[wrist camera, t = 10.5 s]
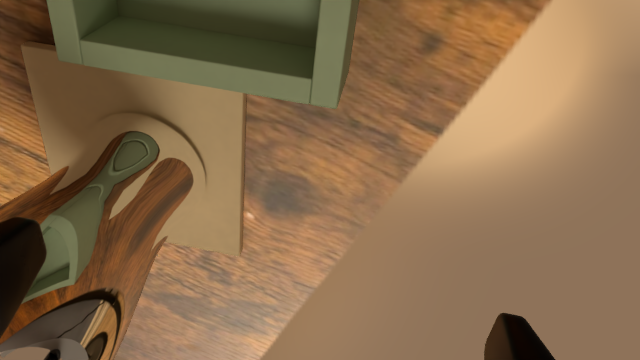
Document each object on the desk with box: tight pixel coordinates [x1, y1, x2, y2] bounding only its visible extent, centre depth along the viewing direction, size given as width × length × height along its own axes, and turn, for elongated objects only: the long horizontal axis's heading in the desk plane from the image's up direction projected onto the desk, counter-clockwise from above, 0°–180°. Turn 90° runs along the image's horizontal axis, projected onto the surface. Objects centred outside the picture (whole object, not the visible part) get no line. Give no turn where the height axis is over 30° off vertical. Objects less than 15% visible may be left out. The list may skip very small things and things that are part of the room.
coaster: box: [21, 41, 246, 256], centre depth 25 cm, size 10×10×1 cm
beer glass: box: [0, 112, 206, 360], centre depth 19 cm, size 7×7×15 cm
